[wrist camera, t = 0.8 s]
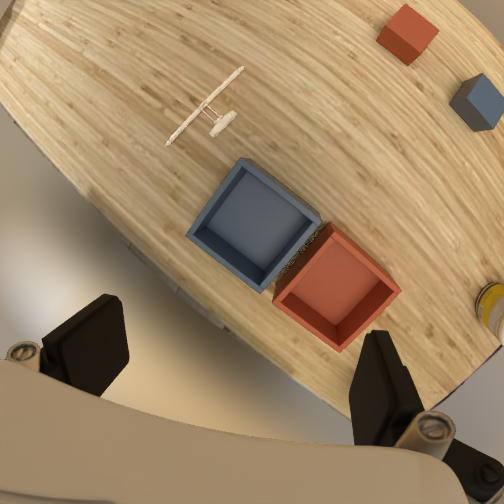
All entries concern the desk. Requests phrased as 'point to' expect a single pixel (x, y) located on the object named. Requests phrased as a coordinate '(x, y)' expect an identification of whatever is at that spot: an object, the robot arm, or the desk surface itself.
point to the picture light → (221, 120)
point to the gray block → (479, 103)
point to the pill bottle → (492, 309)
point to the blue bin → (253, 224)
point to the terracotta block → (407, 34)
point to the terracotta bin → (335, 289)
